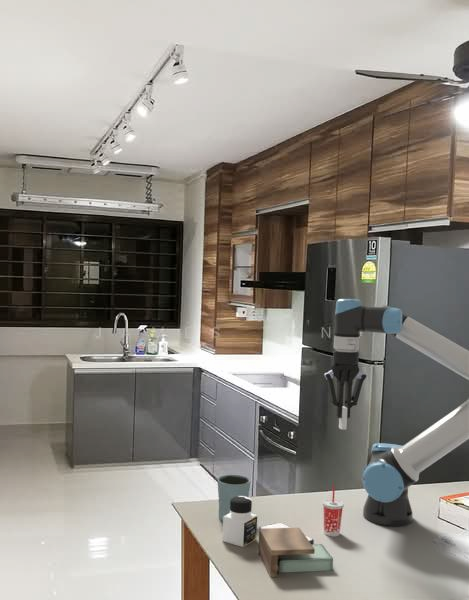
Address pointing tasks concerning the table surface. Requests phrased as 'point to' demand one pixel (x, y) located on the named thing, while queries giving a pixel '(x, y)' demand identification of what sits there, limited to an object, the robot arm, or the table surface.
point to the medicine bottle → (240, 522)
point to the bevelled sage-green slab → (306, 561)
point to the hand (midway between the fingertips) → (342, 428)
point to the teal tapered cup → (231, 491)
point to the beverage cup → (332, 516)
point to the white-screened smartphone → (281, 525)
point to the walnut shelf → (281, 546)
